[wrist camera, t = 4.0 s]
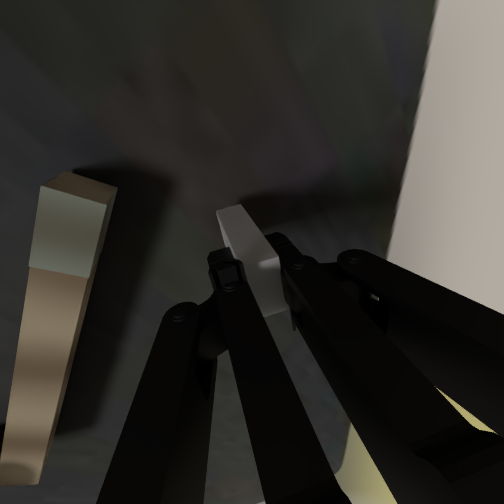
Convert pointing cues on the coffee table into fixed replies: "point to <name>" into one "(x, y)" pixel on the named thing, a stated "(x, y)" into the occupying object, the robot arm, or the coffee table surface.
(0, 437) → the tongs fixed
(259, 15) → the coffee table surface
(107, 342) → the coffee table surface
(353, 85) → the coffee table surface
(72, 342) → the tongs jaw
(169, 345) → the robot arm
